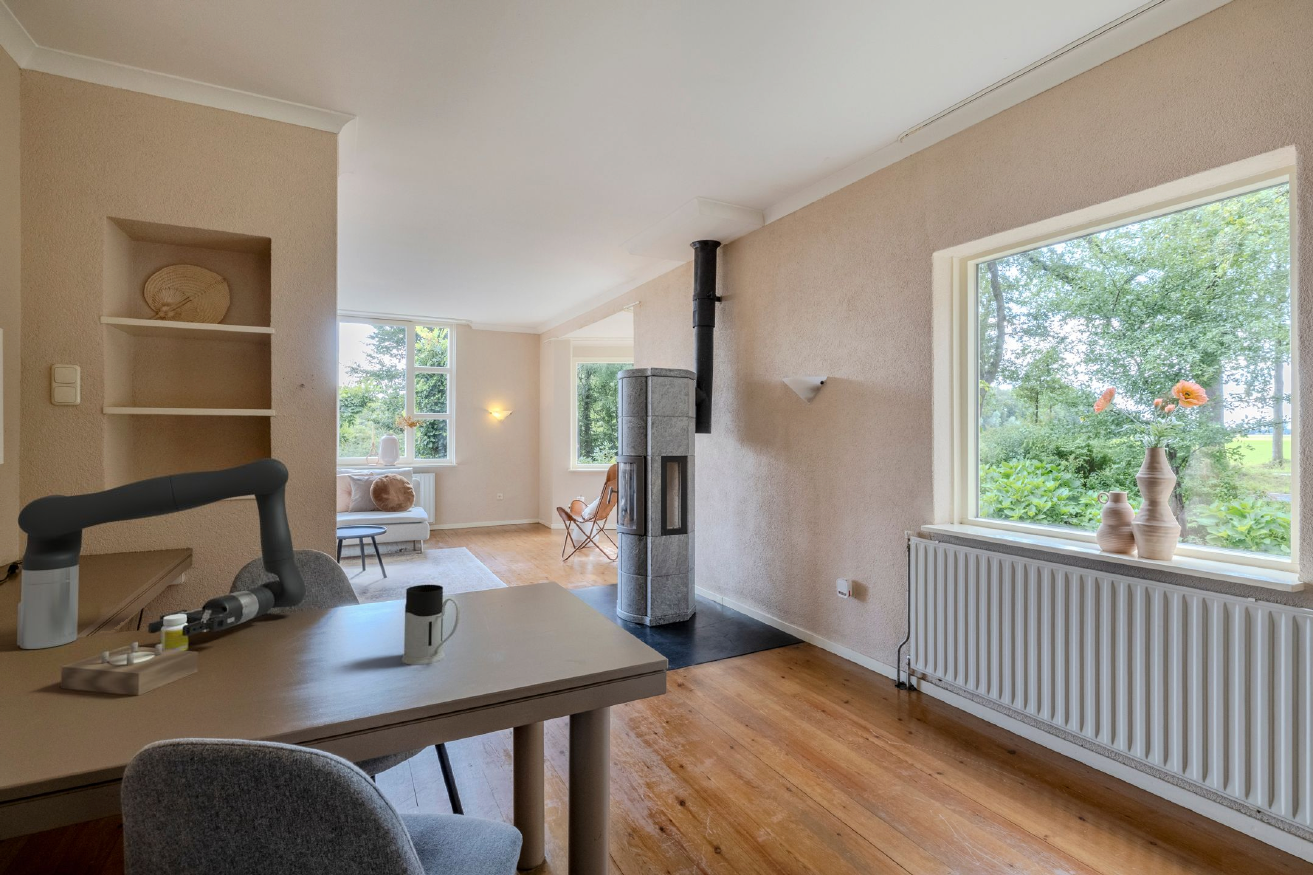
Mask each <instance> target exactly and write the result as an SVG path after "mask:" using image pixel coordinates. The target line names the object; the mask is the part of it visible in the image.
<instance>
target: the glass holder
mask: <svg viewBox="0 0 1313 875" xmlns="http://www.w3.org/2000/svg"><path fill="white" fill-rule="evenodd" d="M405 591H406V592H405V594H406V595H405V605H404V641H403V642H404V643H403V644H404V646H403V647H404V648H403V656H402V658H401V662H402V663H404V664H406V665H410V666H411V665H413V666H419V665H420V666H421V665H422V666H423V665H430V664H433V663H437V662H440V661H441V659H442V658H443V659H444V658H445V657H444V656H446V655H445V653H444V649H443V648H444V647H443V646H444V644H445V643H446V642H447V641H448V640H449V639H450V638H452V637H453V635H454V634H455V633H456V630H457V628H458V625H459V620H460V611H461V610H460V605H459V602H458V601H457V600H456V599H455V598H452V597H451V598H447V599H445V600H444V587H443V585H439V584H420V585H414V586H413V585H412V586H410V587H408V588H406V590H405ZM443 600H444V601H443ZM448 601H451V602H453V603H454V605H455V608H456V615H455V616H456V617H455V622H454V626H453V628H452V630H451V632H450V634H448V636H447V637H446V638H445V639H444V617H445V613H446V605H447V603H448ZM443 659H442V660H443ZM439 660H440V661H439Z"/></svg>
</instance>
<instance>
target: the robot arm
mask: <svg viewBox="0 0 1313 875" xmlns="http://www.w3.org/2000/svg"><path fill="white" fill-rule="evenodd" d="M288 481H289V469H288V468H287V467H286V465H285V464H284V463H283V462H282V461H280V460H278V459H276V458H271V457H270V458H269V457H268V458H261V459H258V460H256V461H253V462H249V463H246V464H242V465H239V466H234V467H230V468H226V469H219V470H206V471H193V472H183V473H182V472H181V473H174V474H168V475H162V476H158V477H151V478H148V479H143V480H139V481H135V482H130V483H128V484H127V483H126V484H123V485H120V486H117V487H114V488H110V489H106V490H103V491H98V492H92V493H84V494H83V493H82V494H76V495H75V494H74V495H64V494H52V495H47V496H43V497H39V498H37V499H34V500H32V501H31V502H29V503H28V504H26V505H25V506H24V507H23V508H22V510H21V511H20V512H19V514H18V518H17V524H18V527H19V528H20V529H21V531H22V532H24V533H25V534H26V535H27V537H26V547H25V551H24V554H23V556H22V559H21V597H20V599H21V600H20V601H19V603H18V604H17V634H16V635H17V636H16V646H19V648H21V649H24V650H36V649H46V648H53V647H57V646H62V645H66V644H69V643H71V642H74V641H76V640H77V639H78V622H79V621H78V616H79V612H78V611H79V573H80V572H79V571H80V566H79V565H80V554H81V551H82V546H83V545H82V544H83V543H82V542H83V529H86V528H90V527H95V526H99V525H103V524H108V523H115V522H116V523H117V522H123V521H131V520H139V519H146V518H147V519H148V518H152V517H158V516H164V515H169V514H174V513H180V512H184V511H187V510H191V509H196V508H199V507H204V506H206V505H209V504H213V503H214V504H215V503H216V502H219V501H223V500H228V499H233V498H238V497H239V498H241V497H247V496H254V498H255V501H256V505H257V509H258V510H257V511H258V517H259V535H260V539H259V540H260V548H261V557H262V563H263V569H264V571H265V572H267V573H269V574H272V575H274V576H275V575H276V576H277V577H278V578H277V579H278V580H271V581H267V582H264V583H262V584H260V585H258V586H256V587H254V588H250V589H246V590H243V591H236V592H233V593H231V592H230V593H228V594H225V595H221V596H218V597H214V598H211V599H209V600H207V601H206V602H205V603H204V604H203V605H202V607H200V608H196V609H193V610H189V611H188V609H181V610H178V611H174V612H170V613H167V614H162V615H160V616H159V620H156V621H151V622H149V623H148V625H147V630H148V631H147V632H148V633H149V634H155V633H158V632H161V628H162V627H163V626H164V625H163V618H164V617H166V616H170V615H175V614H186V615H187V621H186V622H185V623H187V625H184V626H183V629H182V635H183V636H188V637H189V636H192V635H194V634H197V633H206V632H208V631H210V632H212V633H214V632H218V631H223V630H225V629H228V628H231V627H234V626H236V625H239V624H242V623H245V622H247V621H248V620H251V619H254V618H256V617H260V616H262V615H264V614H267V613H269V611H270V610H271V609H275V608H276V609H277V608H292V607H296V606H297V607H298V605H300V604H301V603H302V602H303V600H304V599H305V596H306V591H307V590H306V585H305V582H304V579H303V576H302V575H301V572H300V570H299V568H298V566H297V563H296V561H295V555H294V546H293V545H294V544H293V541H292V540H293V539H292V534H291V530H290V529H291V528H290V525H289V521H288V515H287V508H286V507H287V506H286V484H287V483H288Z"/></svg>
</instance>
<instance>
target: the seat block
mask: <svg viewBox="0 0 1313 875" xmlns="http://www.w3.org/2000/svg"><path fill="white" fill-rule="evenodd" d="M198 662H199V651H196V650H195V651H193V650H188V651H183V650H171V649H162V644H161V643H158V644H155V646H154V647H145V646H143V647H142V646H139V642H138V641H135V642H134V641H133V642H131V643H130V645H125V646H123V647H122V646H121V647H119V648H118V647H117V648H114V649H113V650H112V649H111V650H109V651H108V650H107V651H102V652H101V653H99V654H97V655H94V656H90V657H87V658H84V659H81V660H78V661H74V662H71V663H68V664H65V665H62V666H61V670H60V671H61V675H60V676H61V678H60V688H61V689H66V690H67V689H68V690H75V691H76V690H77V691H87V692H98V693H107V694H108V693H110V694H118V695H119V694H120V695H128V696H137V697H139V696H141V695H143V694H145V693H149V692H150V691H154V690H156V689H159V688H161V687H163V686H166V685H169V684H170V683H173V682H175V681H178V680H181V679H183V678H186V677H189V676H190V675H192V674H196V673H198V670H199V665H198Z"/></svg>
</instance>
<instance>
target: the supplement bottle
mask: <svg viewBox="0 0 1313 875" xmlns="http://www.w3.org/2000/svg"><path fill="white" fill-rule="evenodd" d="M186 621H187V615H186V614H175V615H170V616H166V617H164V618H163V625H164V626H163V627H162V628H161V631H160V644H162V649H171V650H183V651H189V636H183V635H182V629H183V626H184V625H187V623H185V622H186Z"/></svg>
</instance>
